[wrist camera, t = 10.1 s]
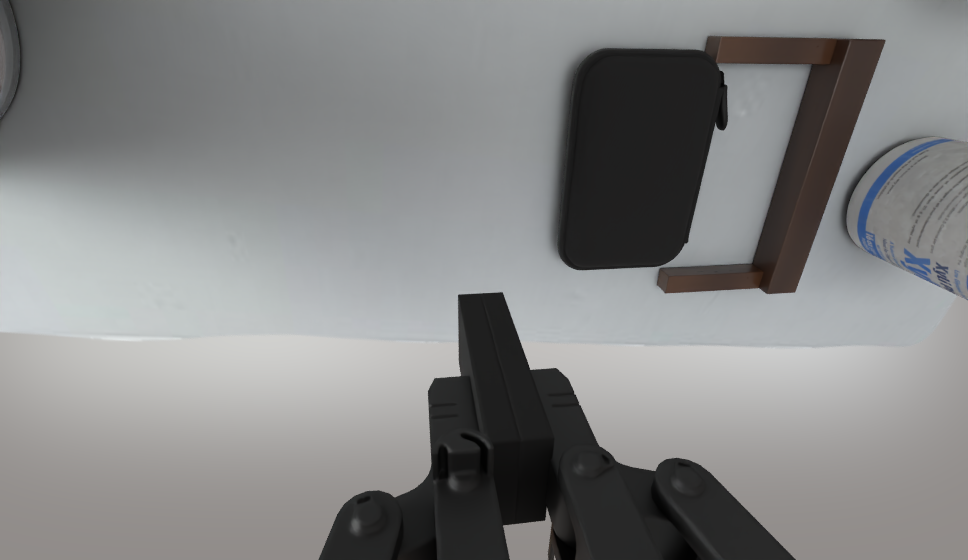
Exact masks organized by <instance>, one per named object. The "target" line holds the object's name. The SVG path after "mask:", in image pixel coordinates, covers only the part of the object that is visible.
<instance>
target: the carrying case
mask: <svg viewBox="0 0 968 560" xmlns="http://www.w3.org/2000/svg"><path fill="white" fill-rule="evenodd" d="M715 122H716V126H717V128H718V129H719V130H724V129H725V128H726V126H727V122H728V112H727V85H725V84H724V73H723V72H722V71H719V67H718V65H717V64H716V62H715V60H714V59H713V58H712V57H711V56H710V55H709V54H707V53H705V52H703V51H700V50H679V49H619V48H606V49H600V50H597V51H596V52H594V53H592V54H590V55H589V56H588V57H587V58H586V59H585V60H584V61H583V62H582V63H581V64H580V66H579V68H578V69H577V71H576V74H575V77H574V81H573V87H572V96H571V105H570V116H569V126H568V137H567V148H566V158H565V169H564V179H563V189H562V200H561V210H560V220H559V230H558V253H559V255H560V257H561V259H562V260H563V262H564V263H565V264H566V265H568V266H569V267H571V268H573V269H576V270H597V269H618V268H640V267H657V266H661V265H664V264H666V263H668V262H670V261H671V260H672V259H674V258H675V257H676V256H677V255H678V254H679V253H680V251H681V250H682V248H683V246H684V243H687V242H688V238H689V232H690V228H691V224H692V220H693V215H694V211H695V207H696V203H697V198H698V194H699V190H700V186H701V182H702V177H703V173H704V169H705V165H706V160H707V156H708V152H709V148H710V143H711V139H712V135H713V131H714V127H715Z"/></svg>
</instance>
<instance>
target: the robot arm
mask: <svg viewBox="0 0 968 560" xmlns="http://www.w3.org/2000/svg"><path fill="white" fill-rule="evenodd" d="M19 72H20V45H19V37H18V31H17V27H16V23H15V19H14V15H13V12H12V9H11V6H10V3H9V1H8V0H0V118H1V117H2V116H3V114H4V113H5V112H6V110H7V108H8V107H9V105H10V103H11V101H12V99H13V96H14V93H15V91H16V88H17V83H18V79H19ZM458 321H459V365H460V372H461V376H460V377H447V378H435V379H434V381H433V383H432V384H431V386H430V388H429V390H428V402H429V422H430V423H429V424H430V443H431V462H432V464H431V470H430V472H429V474H428V476H427V477H426V479H425V480H424V481H423V483H421V484H420V485H419V486H418V487H416V488H415V489H413V490H411V491H410V492H407V493H405V494H402V495H400V496H397V497H395V498H394V497H393V496H392V495H391V494H389V493H385V492H382V491H367V492H364V493H361V494H359V495H356V496H354V497H353V498H352V499H350V500H349V501H348V502H346V503H345V504H344V505H343V507H342V508H341V510H340V511H339V513H338V514H337V517H336V519H335V521H334V524H333V526H332V529H331V531H330V534H329V536H328V538H327V541H326V543H325V546H324V548H323V550H322V553H321V555H320V558H319V560H510V559H509V554H508V549H507V544H506V539H505V533H504V528H503V525H510V524H519V523H527V522H536V521H544V520H545V517H546V508H548V512H549V515H550V518H551V522H552V527H551V535H550V542H549V550H548V560H554V554H555V558H556V560H796V559H794V558H793V557H792V555H790V553H789V552H788V551H787V550H786V549H785V548H783V546H782V545H781V544H780V543H779V542H778V541H777V540H776V539H775V538H774V537H773V536H772V535H771V534H770V533H769V532H768V531H767V530H766V529H765V528H764V527H763V526H762V525H761V524H760V523H759V522H758V521H757V520H756V519H755V518H754V517H753V516H752V515H751V514H750V513H749V512H748V511H747V510H746V509H745V508H744V507H743V506H742V505H741V504H740V503H739V502H738V501H737V500H736V499H735V498H734V497H733V496H732V495H731V494H730V493H729V492H728V491H727V490H726V489H725V488H724V486H722V484H721V483H720V482H718V480H717V479H716V478H714V476H713V475H712V474H711V473H710V472H708V471H707V470H706V469H704V468H703V467H702V466H701V465H699V464H696V463H694V462H692V461H690V460H686V459H680V458H672V459H666V460H664V461H663V462H661V463H660V464H659V465H658V467H657V469H656V471H651V470H644V469H639V468H633V467H629V466H626V465H623V464H620V463H618V462H616V461H615V459H614V457H613V456H612V455H611V454H610V453H609V452H608V451H606V450H605V449H603V448H602V447H600V446H599V445H598V443H597V441H596V439H595V436H594V434H593V432H592V430H591V428H590V426H589V423H588V421H587V419H586V417H585V415H584V413H583V410H582V408H581V406H580V405H579V402H578V399H577V397H576V395H574V391H573V388H572V386H571V384H570V382H569V380H568V378H567V377H565V376H564V375H563V374H562V373H561V372H560V371H559V370H558V369H556V368H551V369H538V370H530V368H529V365H528V362H527V359H526V357H525V354H524V351H523V348H522V345H521V342H520V340H519V337H518V334H517V331H516V328H515V326H514V323H513V320H512V317H511V314H510V312H509V309H508V306H507V303H506V300H505V298H504V295H503V292H500V293H482V294H463V295H458Z"/></svg>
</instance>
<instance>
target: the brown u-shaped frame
mask: <svg viewBox="0 0 968 560" xmlns="http://www.w3.org/2000/svg"><path fill="white" fill-rule="evenodd" d="M884 44H885V40H882V39H836V38H783V37H729V36H708V40H707V44H706V49H705V53H707V54H709V55H710V56H711V57H712V58H713V59H714V60H715V62H716V63H740V64H813V66H812V70H811V73H810V76H809V80H808V83H807V86H806V90H805V93H804V96H803V99H802V103H801V106H800V109H799V113H798V116H797V119H796V122H795V126H794V129H793V132H792V136H791V139H790V142H789V146H788V149H787V152H786V155H785V159H784V162H783V165H782V169H781V172H780V175H779V178H778V182H777V185H776V188H775V192H774V195H773V198H772V202H771V205H770V208H769V211H768V215H767V218H766V221H765V225H764V228H763V231H762V234H761V238H760V241H759V244H758V248H757V251H756V254H755V258H754V261H753V264H740V265H719V266H699V267H678V268H660V272H659V277H658V282H657V285H658V286H659V287H660V288H661V289H662V290H663V291H664V292H665V293H681V292H699V291H717V290H735V289H753V288H760V289H761V290H762V291H764V292H765V293H766V294H775V293H793V292H795V291H796V289H797V286H798V283H799V280H800V277H801V275H802V272H803V269H804V266H805V263H806V261H807V258H808V255H809V252H810V250H811V247H812V244H813V241H814V238H815V236H816V233H817V230H818V227H819V225H820V222H821V219H822V216H823V213H824V211H825V208H826V205H827V202H828V199H829V197H830V194H831V191H832V188H833V186H834V183H835V180H836V177H837V174H838V172H839V169H840V166H841V163H842V161H843V158H844V155H845V152H846V149H847V147H848V144H849V141H850V138H851V135H852V133H853V130H854V127H855V124H856V122H857V119H858V116H859V113H860V110H861V108H862V105H863V102H864V99H865V97H866V94H867V91H868V88H869V85H870V83H871V80H872V77H873V74H874V72H875V69H876V66H877V63H878V60H879V58H880V55H881V52H882V49H883V46H884Z"/></svg>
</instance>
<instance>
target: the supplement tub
mask: <svg viewBox="0 0 968 560" xmlns="http://www.w3.org/2000/svg"><path fill="white" fill-rule="evenodd" d="M847 228H848V232H849V235H850V237H851V238H852V240H853V241H854V243H855V244H856V245H857V246H858V247H860V248H861V249H862V250H864V251H866V252H868V253H870V254H872V255H874V256H876V257H878V258H880V259H883V260H885V261H887V262H889V263H891V264H893V265H895V266H897V267H899V268H902V269H904V270H906V271H908V272H910V273H912V274H914V275H916V276H918V277H920V278H923V279H925V280H927V281H929V282H931V283H933V284H935V285H937V286H939V287H941V288H944V289H946V290H948V291H950V292H952V293H954V294H956V295H958V296H960V297H962V298H965V299H967V300H968V142H963V141H958V140H952V139H947V138H941V137H927V138H921V139H917V140H913V141H910V142H907V143H905V144H902V145H900V146H898V147H896V148H894V149H893V150H891V151H889V152H888V153H887V154H885V155H884V156H882V157H881V158H880V159H879V160H878V161H877V162H875V163H874V164H873V165H872V166H871V167H870V169H869V170H868V171H867V172H866V173H865V175H864V176H863V177H862V178H861V180H860V181H859V183H858V185H857V186H856V188H855V190H854V192H853V194H852V197H851V199H850V202H849V206H848V210H847Z"/></svg>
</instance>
